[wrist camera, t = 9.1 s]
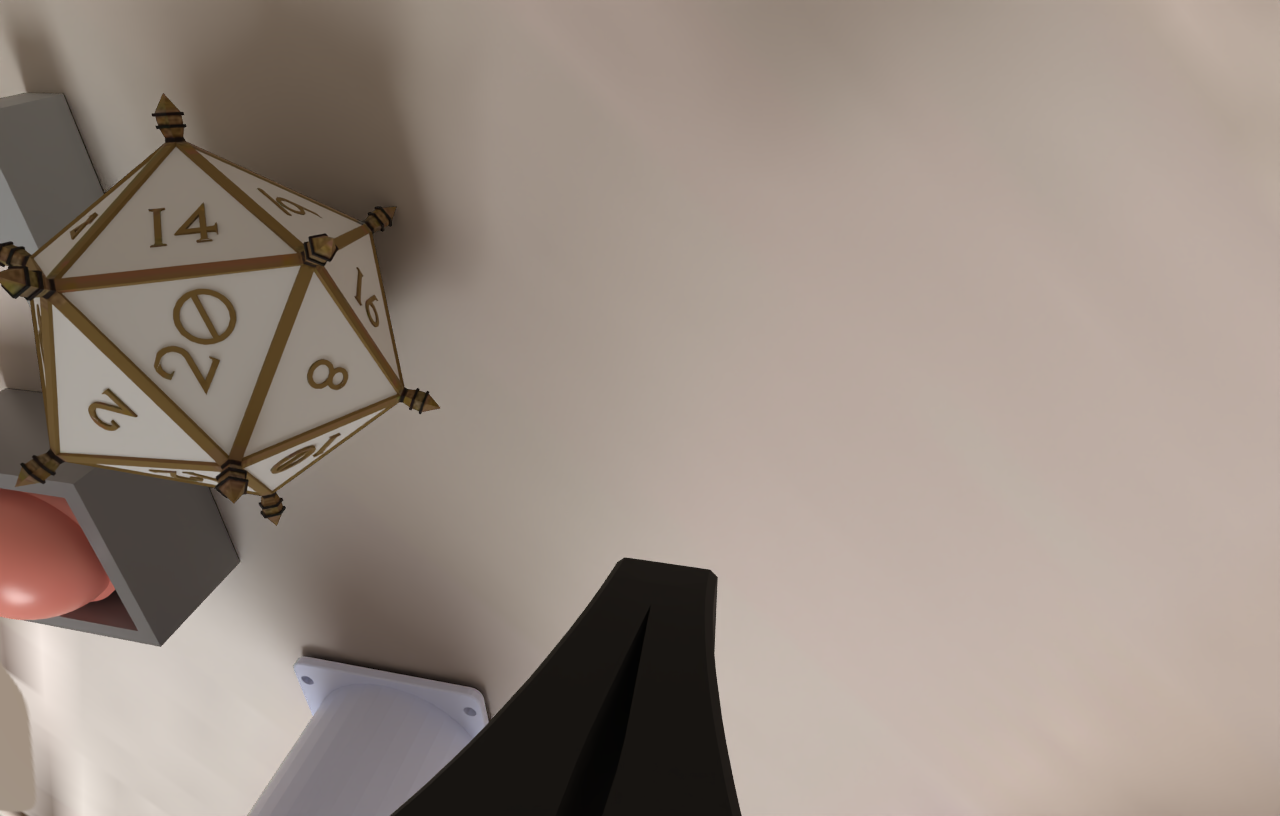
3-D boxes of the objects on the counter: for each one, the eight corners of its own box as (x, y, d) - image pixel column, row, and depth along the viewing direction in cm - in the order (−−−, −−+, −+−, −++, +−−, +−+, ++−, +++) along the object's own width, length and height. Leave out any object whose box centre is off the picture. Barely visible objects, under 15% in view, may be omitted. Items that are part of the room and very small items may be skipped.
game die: (351, 160, 23) (-3, -76, 13) (558, 328, 21) (321, 194, 11) (180, 396, 23) (-275, 338, 14) (365, 581, 21) (-18, 665, 12)
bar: (184, 394, 24) (126, 436, 22) (152, 390, 25) (92, 432, 23) (63, 93, 19) (-26, 114, 17) (24, 92, 20) (-67, 112, 18)
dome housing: (239, 562, 28) (160, 646, 25) (88, 537, 30) (-6, 614, 26) (175, 408, 25) (73, 483, 21) (5, 388, 26) (-115, 456, 23)
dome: (197, 553, 28) (82, 668, 23) (82, 535, 29) (-49, 641, 24) (146, 440, 25) (4, 546, 21) (21, 424, 26) (-138, 522, 22)
